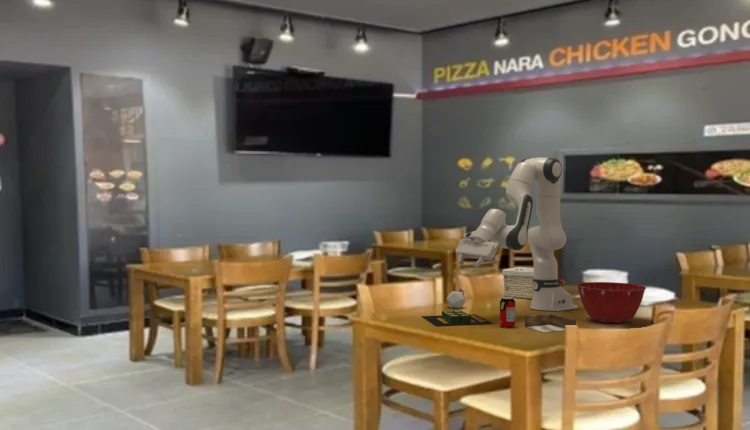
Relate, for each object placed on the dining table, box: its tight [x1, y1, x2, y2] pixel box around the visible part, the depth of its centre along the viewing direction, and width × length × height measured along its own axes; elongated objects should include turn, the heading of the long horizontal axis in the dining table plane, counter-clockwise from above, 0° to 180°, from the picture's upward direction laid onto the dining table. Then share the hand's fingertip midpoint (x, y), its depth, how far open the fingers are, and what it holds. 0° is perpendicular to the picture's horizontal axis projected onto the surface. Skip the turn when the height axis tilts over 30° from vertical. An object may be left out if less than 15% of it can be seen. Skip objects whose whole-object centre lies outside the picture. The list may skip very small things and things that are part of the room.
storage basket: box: [502, 266, 534, 300], centre depth 410 cm, size 24×16×15 cm
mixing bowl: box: [576, 281, 647, 324], centre depth 338 cm, size 28×28×16 cm
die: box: [446, 290, 466, 309], centre depth 376 cm, size 8×9×10 cm
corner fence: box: [524, 313, 577, 334], centre depth 320 cm, size 14×16×4 cm
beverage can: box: [499, 296, 516, 328], centre depth 326 cm, size 6×6×12 cm
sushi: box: [420, 310, 494, 328], centre depth 342 cm, size 25×25×4 cm
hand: (467, 265), depth 339 cm, fingers open, 8 cm apart
